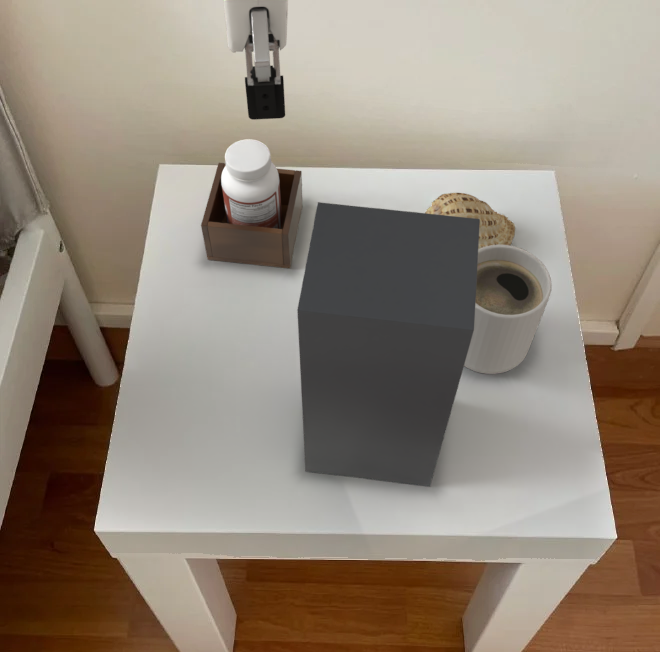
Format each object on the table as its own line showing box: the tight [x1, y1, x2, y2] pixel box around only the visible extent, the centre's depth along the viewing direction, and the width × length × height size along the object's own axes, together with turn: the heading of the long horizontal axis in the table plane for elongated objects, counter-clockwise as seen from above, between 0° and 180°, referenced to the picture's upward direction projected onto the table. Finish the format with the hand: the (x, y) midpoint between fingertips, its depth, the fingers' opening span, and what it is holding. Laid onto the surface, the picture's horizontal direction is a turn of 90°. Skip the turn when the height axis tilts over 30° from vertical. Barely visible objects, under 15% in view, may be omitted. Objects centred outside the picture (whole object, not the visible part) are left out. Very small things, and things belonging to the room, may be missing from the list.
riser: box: [296, 201, 480, 488], centre depth 68 cm, size 12×10×26 cm
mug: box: [464, 244, 553, 375], centre depth 81 cm, size 11×10×10 cm
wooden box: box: [200, 162, 304, 269], centre depth 90 cm, size 9×9×6 cm
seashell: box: [424, 192, 516, 249], centre depth 90 cm, size 8×6×10 cm
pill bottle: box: [221, 138, 282, 229], centre depth 87 cm, size 6×6×11 cm
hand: (265, 79), depth 73 cm, fingers open, 9 cm apart
